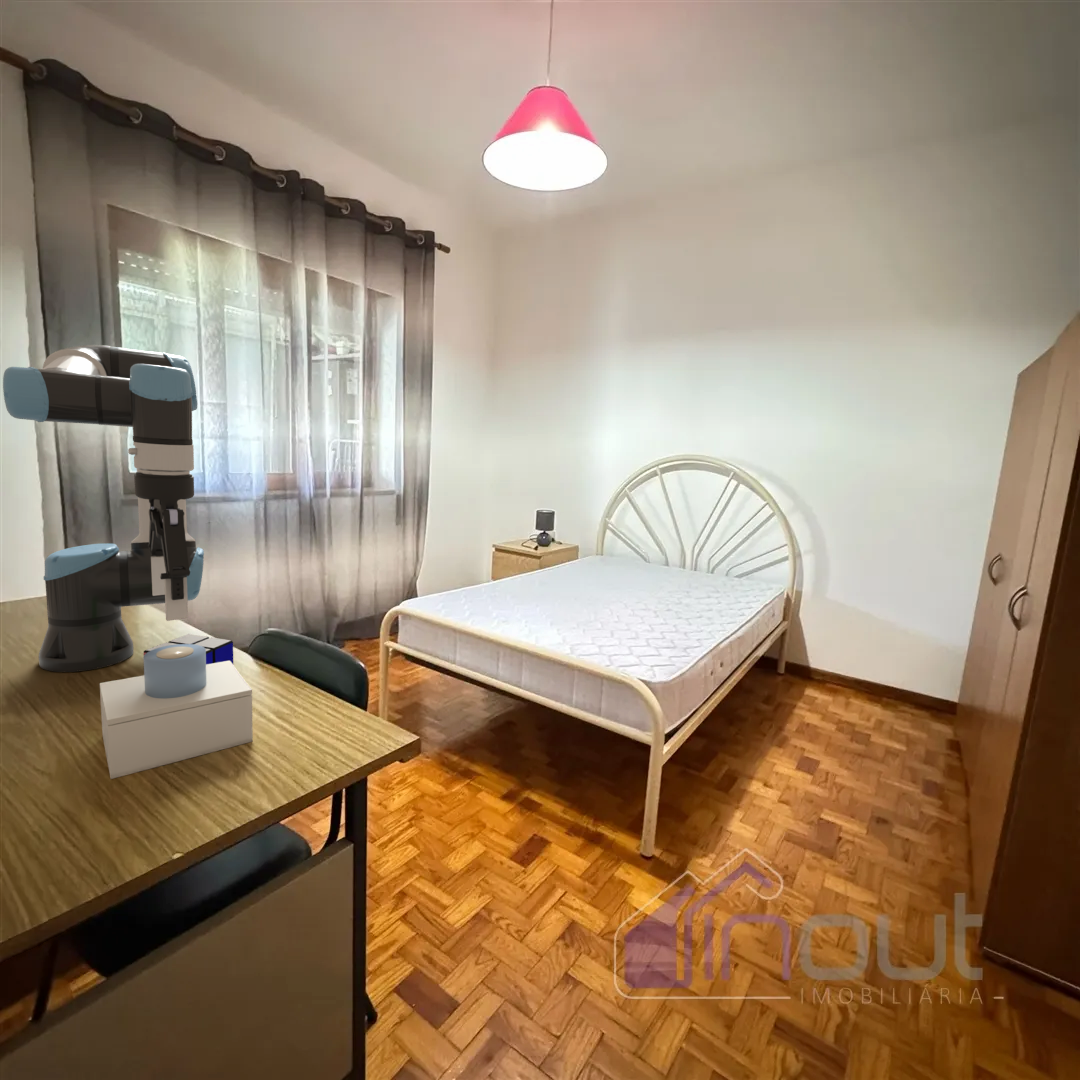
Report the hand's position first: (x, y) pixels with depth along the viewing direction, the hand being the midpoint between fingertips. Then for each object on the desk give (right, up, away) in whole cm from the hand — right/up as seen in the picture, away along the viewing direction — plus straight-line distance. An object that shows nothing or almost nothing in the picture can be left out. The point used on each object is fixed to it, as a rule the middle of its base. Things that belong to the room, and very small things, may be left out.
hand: (169, 606), depth 89 cm
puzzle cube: (-5, -18, +14) cm, 24 cm away
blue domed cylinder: (+2, -12, -2) cm, 13 cm away
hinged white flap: (+2, -13, -2) cm, 13 cm away
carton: (+2, -21, 0) cm, 21 cm away
